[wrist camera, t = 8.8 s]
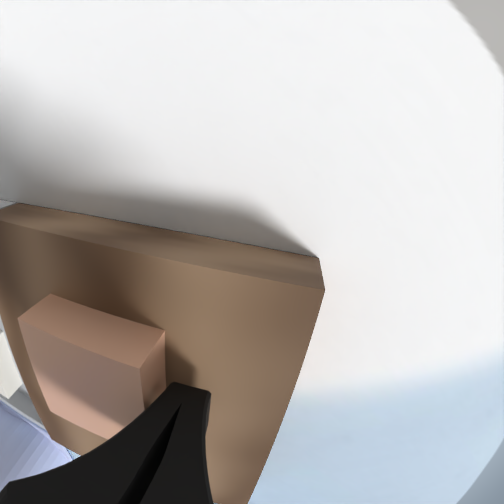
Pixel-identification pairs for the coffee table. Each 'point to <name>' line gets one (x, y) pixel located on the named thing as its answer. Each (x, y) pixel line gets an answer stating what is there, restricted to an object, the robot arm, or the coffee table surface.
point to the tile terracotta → (93, 363)
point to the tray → (20, 397)
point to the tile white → (7, 370)
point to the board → (174, 320)
